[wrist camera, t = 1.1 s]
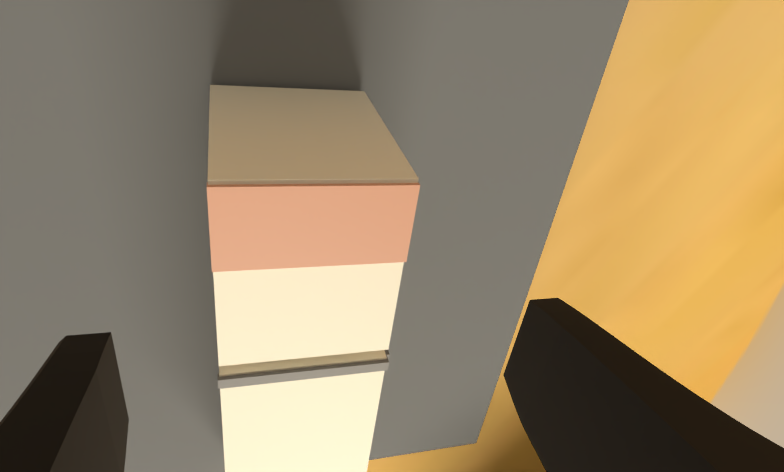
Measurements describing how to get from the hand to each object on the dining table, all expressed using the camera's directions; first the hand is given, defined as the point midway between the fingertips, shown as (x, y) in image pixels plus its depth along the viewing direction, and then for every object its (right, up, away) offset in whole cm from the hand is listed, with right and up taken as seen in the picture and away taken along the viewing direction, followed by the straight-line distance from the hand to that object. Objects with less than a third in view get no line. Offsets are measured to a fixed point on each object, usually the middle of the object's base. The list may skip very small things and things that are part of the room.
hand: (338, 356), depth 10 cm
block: (-2, +4, +7) cm, 8 cm away
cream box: (-3, -3, +11) cm, 12 cm away
